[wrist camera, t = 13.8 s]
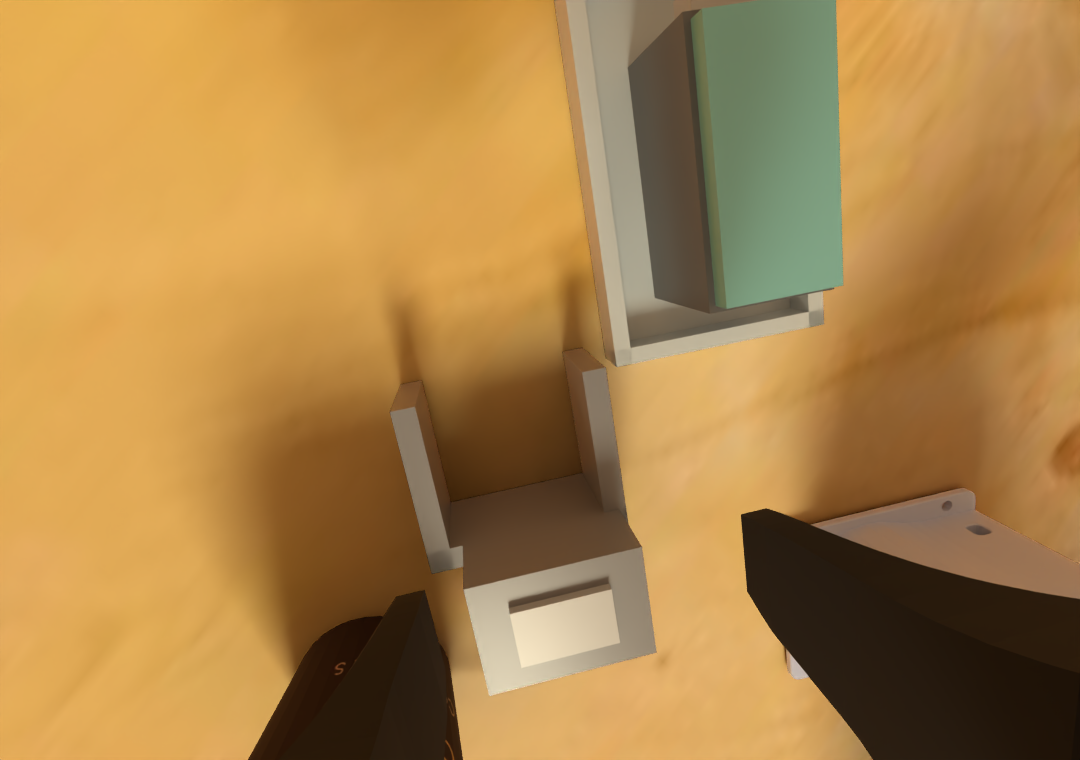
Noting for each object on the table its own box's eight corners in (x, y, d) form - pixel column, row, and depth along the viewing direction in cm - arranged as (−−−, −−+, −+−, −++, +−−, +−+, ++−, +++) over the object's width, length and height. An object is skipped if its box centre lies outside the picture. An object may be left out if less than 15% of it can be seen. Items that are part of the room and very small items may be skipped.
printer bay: (582, 347, 22) (631, 389, 16) (614, 552, 24) (666, 657, 18) (400, 384, 21) (377, 442, 15) (452, 591, 23) (450, 713, 17)
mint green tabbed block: (735, 18, 19) (841, -67, 14) (753, 278, 21) (849, 290, 16) (623, 34, 19) (689, -46, 13) (654, 298, 21) (720, 317, 16)
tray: (781, -56, 19) (809, -82, 18) (799, 318, 23) (823, 324, 21) (550, -25, 18) (558, -49, 17) (605, 358, 22) (616, 367, 20)
